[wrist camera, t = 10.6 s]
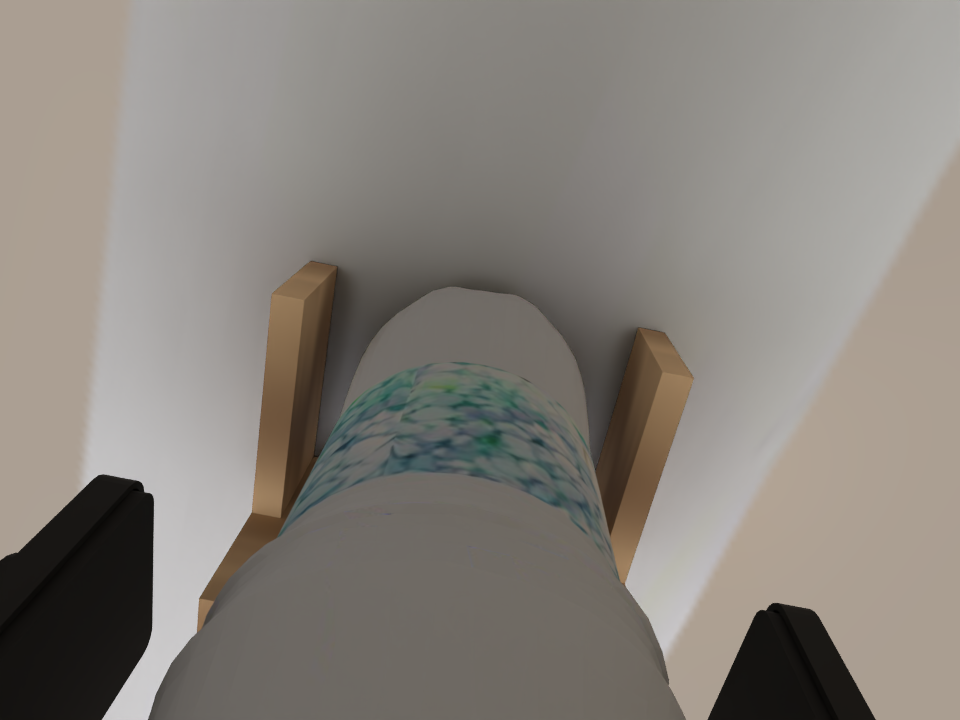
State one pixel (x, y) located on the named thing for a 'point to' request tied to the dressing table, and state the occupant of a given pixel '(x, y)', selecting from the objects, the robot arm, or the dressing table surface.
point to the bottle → (437, 549)
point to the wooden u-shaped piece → (296, 403)
